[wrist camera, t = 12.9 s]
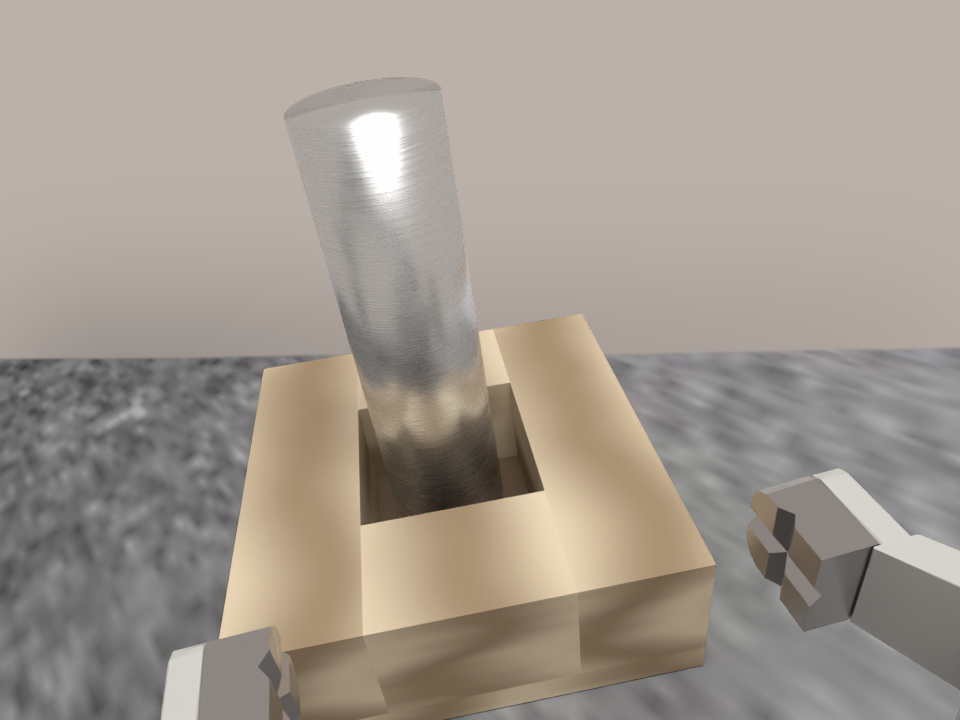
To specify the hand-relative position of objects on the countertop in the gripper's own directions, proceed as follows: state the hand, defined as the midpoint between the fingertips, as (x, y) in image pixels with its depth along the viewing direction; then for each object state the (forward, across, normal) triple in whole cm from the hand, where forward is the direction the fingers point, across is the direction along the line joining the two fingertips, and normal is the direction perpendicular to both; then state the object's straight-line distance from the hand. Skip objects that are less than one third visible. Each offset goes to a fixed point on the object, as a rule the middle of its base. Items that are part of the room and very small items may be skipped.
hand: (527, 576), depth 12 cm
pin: (+12, 0, +11) cm, 16 cm away
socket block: (+12, 0, +12) cm, 17 cm away
